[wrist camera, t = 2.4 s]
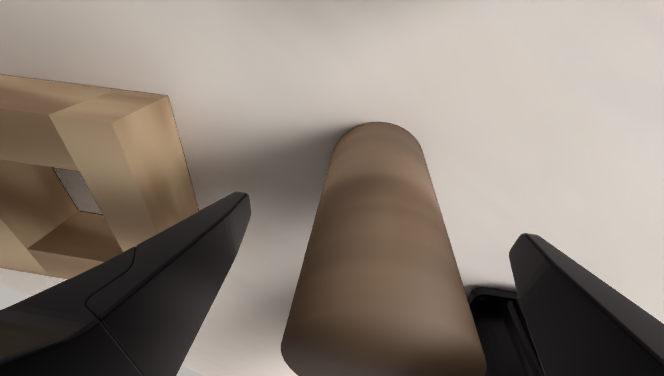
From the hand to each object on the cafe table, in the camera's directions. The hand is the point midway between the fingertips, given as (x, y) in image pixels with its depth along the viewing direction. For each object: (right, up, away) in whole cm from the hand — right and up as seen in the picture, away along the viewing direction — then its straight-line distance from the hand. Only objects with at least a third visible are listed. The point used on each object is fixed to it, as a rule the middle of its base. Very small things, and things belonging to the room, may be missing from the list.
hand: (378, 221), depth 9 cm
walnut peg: (0, +2, +3) cm, 4 cm away
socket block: (-17, +2, +6) cm, 18 cm away
